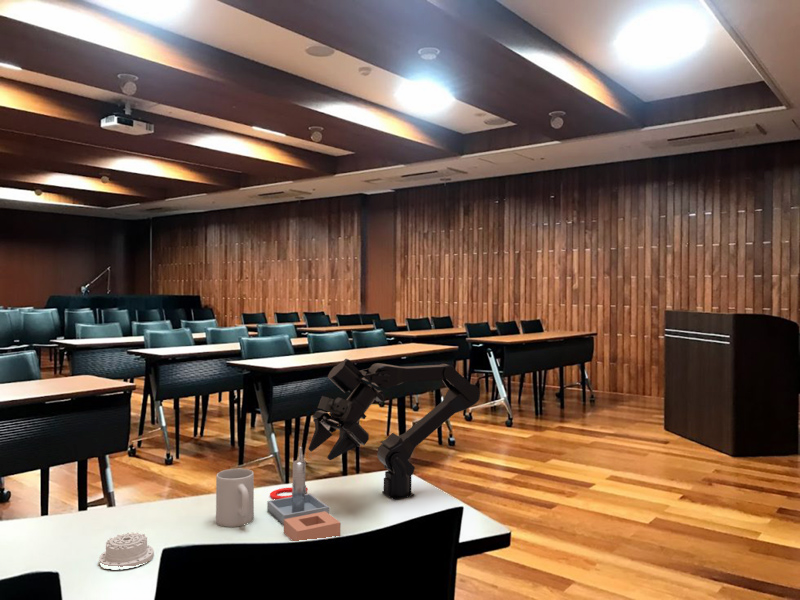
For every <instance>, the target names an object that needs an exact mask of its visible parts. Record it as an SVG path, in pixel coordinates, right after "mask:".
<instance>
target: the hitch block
mask: <svg viewBox="0 0 800 600" xmlns="http://www.w3.org/2000/svg"><path fill="white" fill-rule="evenodd" d="M283 534H284V535H285V536H286V537H288V538H289V540H291V539H292V540H291V541H292V542H293V541H299V540H307V539H317V538H326V537H332V536H339V537H341V522H340V521H339V520H338V519H336V518H335V517H334V516H333V515H331V513H329V514H328V513H327V512H325V511H324V512H319V513H314V514H309V515H304V516H298V517H293V518H288V519H284V526H283Z"/></svg>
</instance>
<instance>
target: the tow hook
mask: <svg viewBox="0 0 800 600" xmlns="http://www.w3.org/2000/svg"><path fill="white" fill-rule="evenodd" d="M298 450H299V451H298V452H299V454H298V460H303V461H304V454H303V446H298ZM308 491H309V490H308V487H307V485H306V484H305V494H307V492H308ZM283 492H284V493H292V487H282V488H278V489H275V490H273V491H271V492H270V493H269V497H271V498H272V499H271V498H270V499H271V500H273V499H275V500H277V499H282V498H288V497H292V494H290V495H279V494H283Z"/></svg>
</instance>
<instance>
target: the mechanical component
mask: <svg viewBox="0 0 800 600" xmlns="http://www.w3.org/2000/svg"><path fill="white" fill-rule="evenodd" d="M154 557H155V550H154V548H153V547H152V546H150V545H148V536H146V535H145V534H141V533H139V532H131V533H129V532H127V533H123V534H117V535H116V536H114V537H110V538H109V539H107V540H106V542H105V551H104V552H103V553H101V554H100V555H99V559H98V562H99V561H100V563H102V564H104V565H108V566H118V567H119V566H120V567H123V566H136V565H139V564H143V563H146V562H148V561H150V560H151V559H152V558H153V559H154ZM153 559H152V560H153ZM152 560H151V561H152ZM151 561H150V562H151ZM148 563H149V562H148Z"/></svg>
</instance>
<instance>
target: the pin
mask: <svg viewBox="0 0 800 600" xmlns="http://www.w3.org/2000/svg"><path fill="white" fill-rule="evenodd" d="M306 463H307V462H306V461H305V460H304V459H303V460H299V459H298V460H293V461H292V484H291V485H292V486H291V488H292V492H291V495H292V513H295V512H301V511H304V509H305V485H306V471H307V470H306V467H307V466H306V465H307V464H306Z"/></svg>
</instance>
